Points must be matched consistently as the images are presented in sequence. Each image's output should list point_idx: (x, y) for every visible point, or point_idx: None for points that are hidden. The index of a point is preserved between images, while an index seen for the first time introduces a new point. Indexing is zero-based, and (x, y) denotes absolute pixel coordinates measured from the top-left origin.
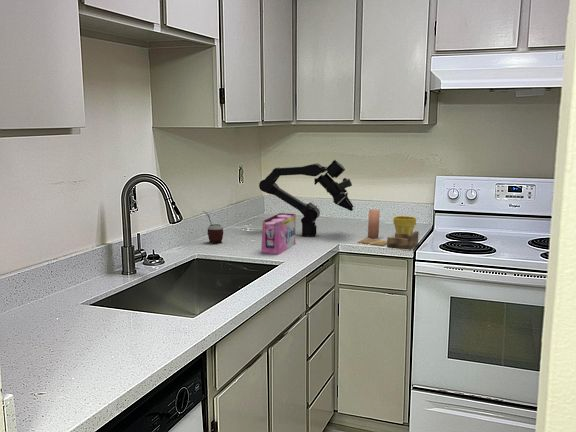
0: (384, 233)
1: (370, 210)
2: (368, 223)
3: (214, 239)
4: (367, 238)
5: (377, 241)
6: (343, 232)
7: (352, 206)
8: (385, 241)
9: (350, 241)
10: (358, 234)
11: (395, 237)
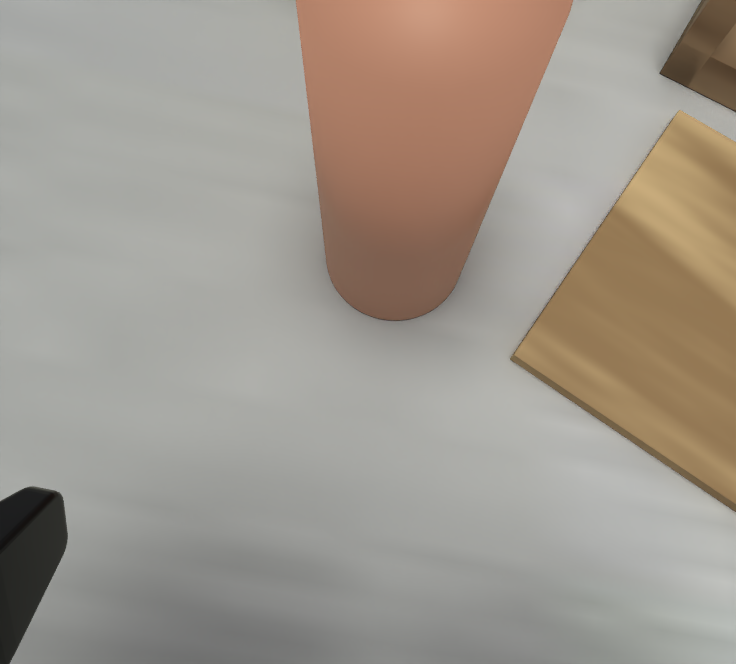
0: (153, 74)
1: (485, 66)
2: (411, 244)
3: None
4: (546, 350)
5: (724, 264)
6: None
7: (46, 527)
8: (707, 173)
9: (665, 614)
10: (183, 405)
11: (722, 37)
